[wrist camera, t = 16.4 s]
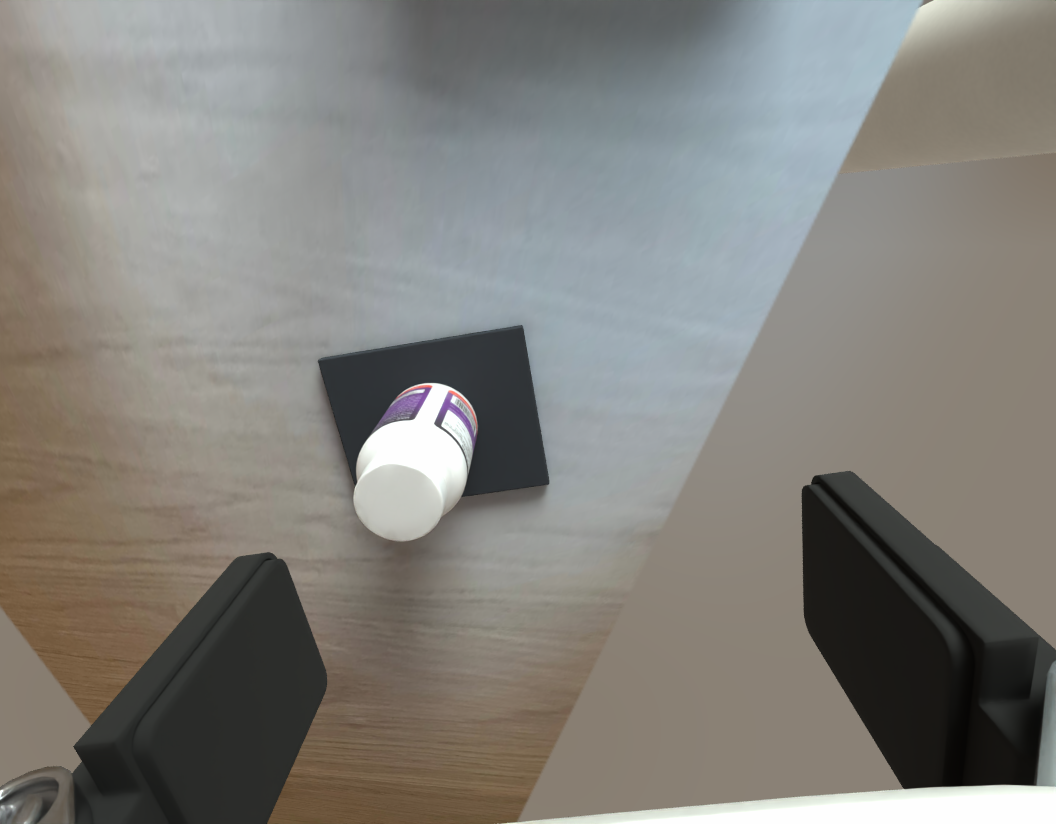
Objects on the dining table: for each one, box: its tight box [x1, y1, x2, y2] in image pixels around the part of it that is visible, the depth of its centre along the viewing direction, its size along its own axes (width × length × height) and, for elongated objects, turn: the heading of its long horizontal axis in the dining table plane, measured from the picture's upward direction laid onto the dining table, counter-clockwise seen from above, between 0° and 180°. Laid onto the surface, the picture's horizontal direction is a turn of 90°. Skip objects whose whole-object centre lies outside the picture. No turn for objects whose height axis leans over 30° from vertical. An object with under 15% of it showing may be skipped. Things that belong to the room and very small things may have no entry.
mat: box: [318, 325, 549, 497], centre depth 35 cm, size 12×10×1 cm
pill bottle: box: [353, 383, 478, 541], centre depth 30 cm, size 5×5×10 cm
